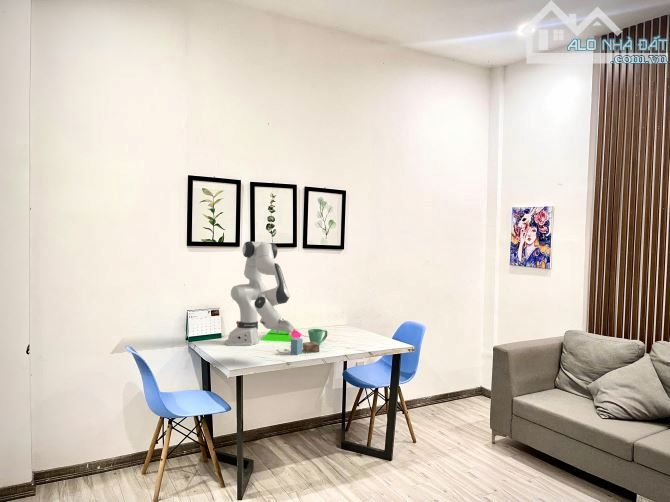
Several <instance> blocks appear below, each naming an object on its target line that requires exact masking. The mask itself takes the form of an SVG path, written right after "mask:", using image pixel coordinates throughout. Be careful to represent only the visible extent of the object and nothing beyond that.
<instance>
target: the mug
mask: <svg viewBox="0 0 670 502" xmlns="http://www.w3.org/2000/svg"><path fill="white" fill-rule="evenodd" d="M307 332H308V338H309V342H316V343H318V344H319V345H321V344H322V343H323V342H324V341H325V340H326V338H327V337H328V330H327V329H319V328H311V329H308V330H307ZM323 333H324V335H323Z"/></svg>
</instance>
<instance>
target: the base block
mask: <svg viewBox="0 0 670 502" xmlns="http://www.w3.org/2000/svg"><path fill="white" fill-rule="evenodd" d="M302 352H305V353H306V354H312V353H315V354H316V353H320V344H318V343H316V342H310V341H308V342H307V341H306V342H304V341H303V342H302Z"/></svg>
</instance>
